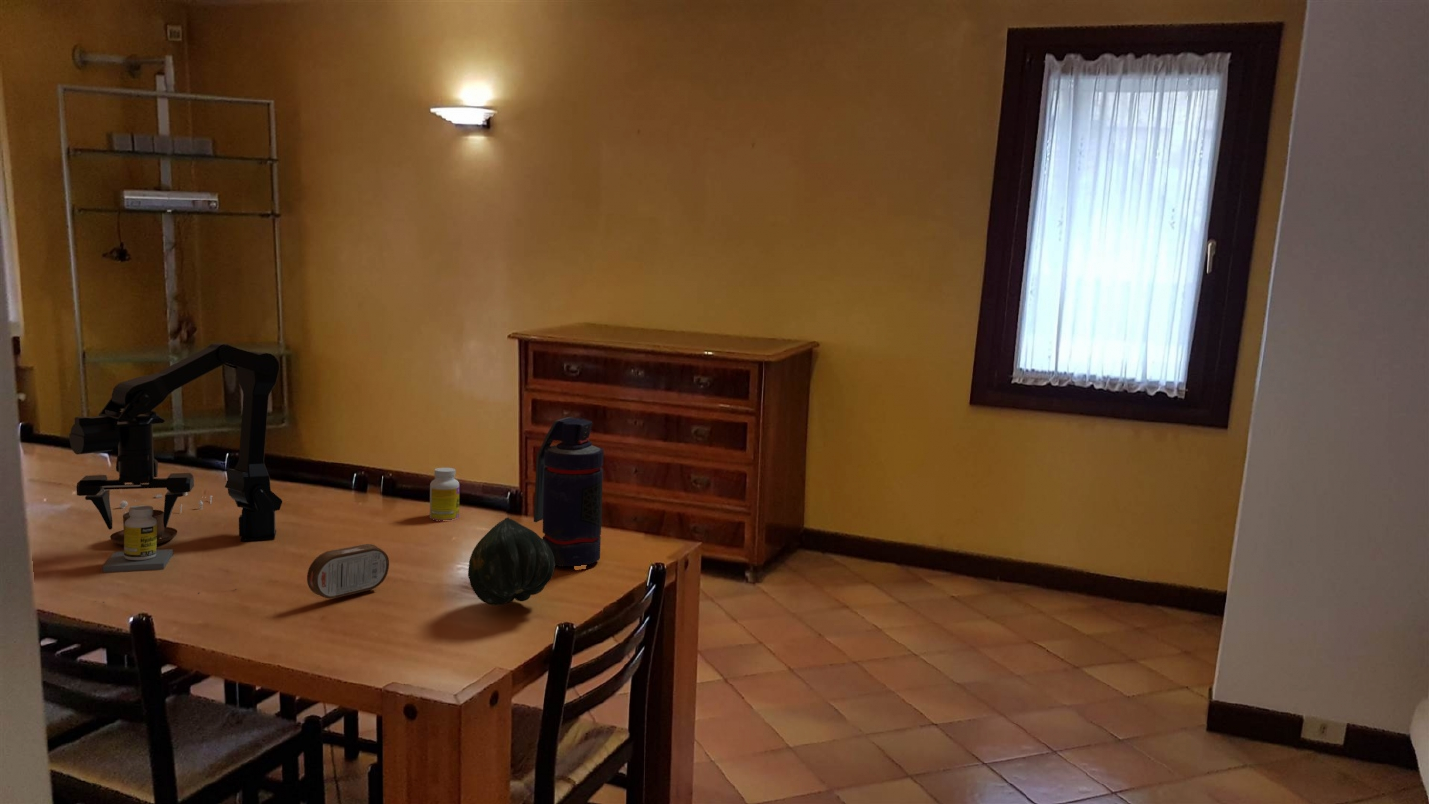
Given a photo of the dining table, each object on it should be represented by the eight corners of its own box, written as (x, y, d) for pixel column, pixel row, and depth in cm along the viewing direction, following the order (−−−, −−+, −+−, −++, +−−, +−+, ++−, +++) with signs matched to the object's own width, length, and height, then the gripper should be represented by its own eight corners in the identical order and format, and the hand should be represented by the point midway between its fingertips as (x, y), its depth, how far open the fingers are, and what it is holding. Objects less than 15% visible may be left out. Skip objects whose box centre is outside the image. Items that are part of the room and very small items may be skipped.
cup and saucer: (116, 536, 204) (116, 508, 203) (181, 533, 208) (180, 505, 208) (104, 552, 193) (103, 522, 192) (173, 548, 197) (172, 519, 197)
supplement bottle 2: (460, 526, 225) (461, 471, 223) (431, 527, 222) (431, 472, 221) (457, 519, 231) (457, 466, 229) (428, 520, 228) (428, 467, 227)
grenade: (608, 559, 204) (613, 418, 200) (586, 574, 192) (590, 426, 189) (548, 551, 207) (552, 413, 204) (523, 566, 196) (526, 420, 192)
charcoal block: (173, 558, 193) (172, 549, 193) (163, 573, 184) (163, 563, 184) (115, 561, 190) (115, 551, 190) (103, 576, 180) (102, 566, 180)
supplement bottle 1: (141, 562, 183) (141, 511, 182) (117, 559, 185) (117, 508, 183) (163, 555, 189) (163, 506, 188) (139, 552, 190) (139, 503, 189)
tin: (382, 582, 182) (382, 539, 181) (391, 586, 180) (392, 542, 179) (305, 600, 171) (305, 554, 170) (315, 604, 169) (314, 558, 168)
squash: (453, 602, 173) (454, 520, 171) (524, 586, 183) (526, 509, 181) (496, 624, 163) (498, 538, 161) (569, 606, 173) (571, 525, 171)
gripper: (196, 440, 195) (198, 515, 197) (89, 441, 188) (91, 519, 190) (188, 449, 184) (190, 529, 186) (74, 452, 178) (77, 534, 180)
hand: (138, 527), depth 186 cm, fingers open, 9 cm apart
